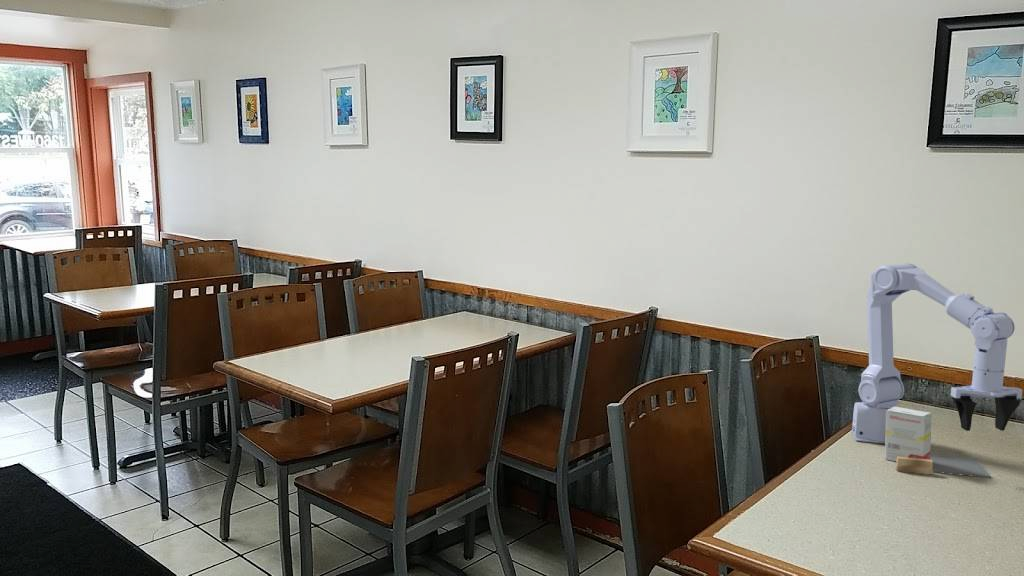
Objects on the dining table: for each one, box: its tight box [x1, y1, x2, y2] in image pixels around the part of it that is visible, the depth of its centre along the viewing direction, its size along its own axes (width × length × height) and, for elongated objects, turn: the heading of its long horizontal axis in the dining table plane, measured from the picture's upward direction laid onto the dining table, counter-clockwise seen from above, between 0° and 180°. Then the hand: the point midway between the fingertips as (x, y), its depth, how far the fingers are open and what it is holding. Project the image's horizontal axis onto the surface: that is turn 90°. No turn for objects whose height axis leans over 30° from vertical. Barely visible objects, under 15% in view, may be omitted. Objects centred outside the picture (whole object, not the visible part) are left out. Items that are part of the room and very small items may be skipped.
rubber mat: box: [930, 453, 992, 479], centre depth 177 cm, size 12×11×1 cm
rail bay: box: [895, 456, 933, 475], centre depth 179 cm, size 7×14×3 cm, turn 164°
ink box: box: [884, 406, 933, 463], centre depth 179 cm, size 9×5×12 cm, turn 44°
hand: (982, 429), depth 170 cm, fingers open, 7 cm apart
